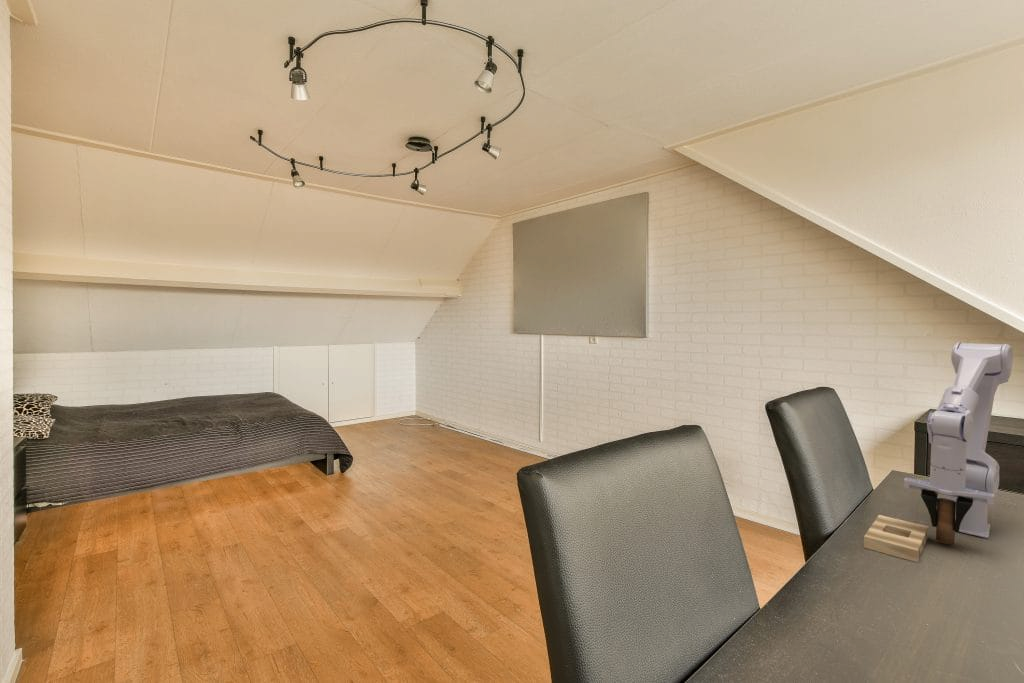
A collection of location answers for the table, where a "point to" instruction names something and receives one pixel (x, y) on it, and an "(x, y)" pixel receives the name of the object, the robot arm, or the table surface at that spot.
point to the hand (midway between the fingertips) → (945, 527)
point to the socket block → (896, 538)
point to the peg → (945, 520)
